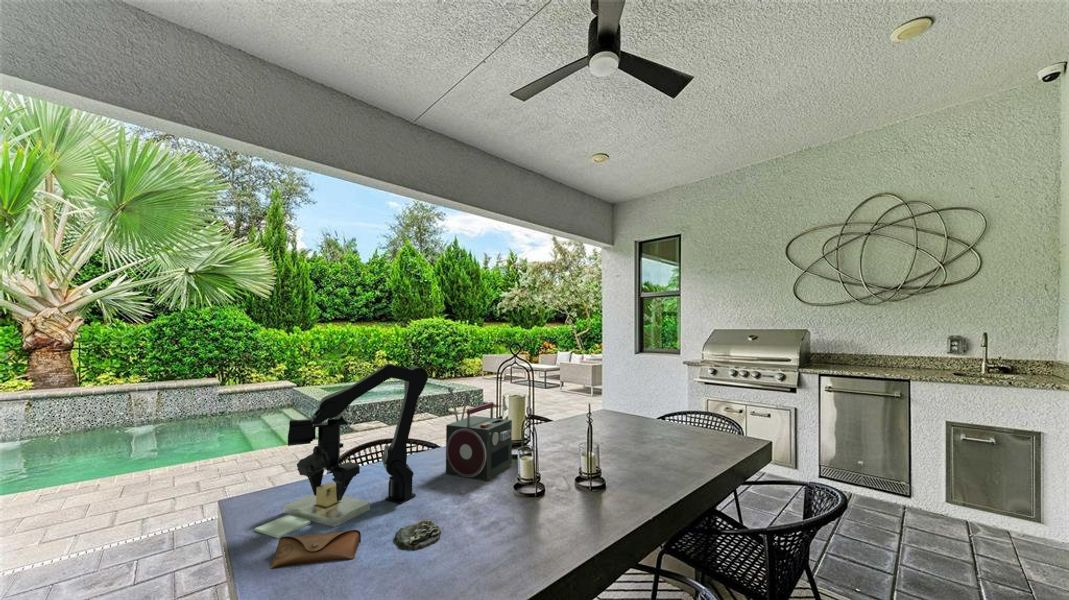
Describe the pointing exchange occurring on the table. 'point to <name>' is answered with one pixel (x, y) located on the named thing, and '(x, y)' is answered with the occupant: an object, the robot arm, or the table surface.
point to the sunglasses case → (316, 548)
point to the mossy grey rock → (417, 535)
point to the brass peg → (326, 495)
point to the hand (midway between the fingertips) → (327, 498)
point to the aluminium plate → (327, 510)
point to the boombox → (478, 444)
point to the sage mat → (282, 526)
